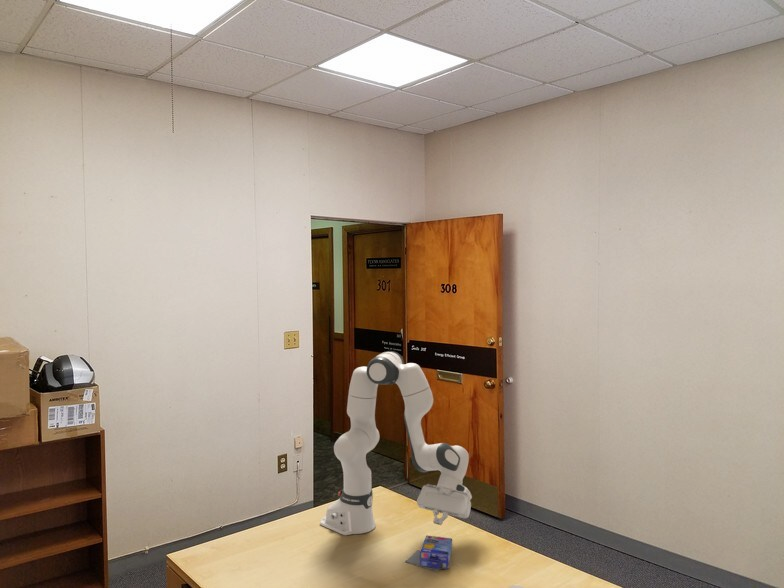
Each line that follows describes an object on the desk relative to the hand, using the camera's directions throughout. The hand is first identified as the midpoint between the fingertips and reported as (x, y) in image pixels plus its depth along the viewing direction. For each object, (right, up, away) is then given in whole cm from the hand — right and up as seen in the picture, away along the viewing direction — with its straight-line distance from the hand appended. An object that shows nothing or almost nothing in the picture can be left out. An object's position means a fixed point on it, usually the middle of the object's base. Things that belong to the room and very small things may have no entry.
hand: (437, 523), depth 199 cm
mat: (-4, -10, -7) cm, 13 cm away
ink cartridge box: (+1, -7, -1) cm, 7 cm away
